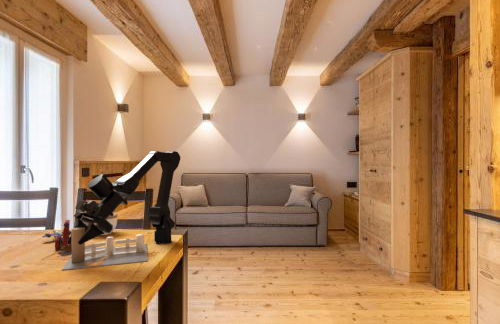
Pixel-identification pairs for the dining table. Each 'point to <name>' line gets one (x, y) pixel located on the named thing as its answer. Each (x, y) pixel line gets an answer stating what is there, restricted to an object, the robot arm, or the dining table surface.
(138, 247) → the fence fixed
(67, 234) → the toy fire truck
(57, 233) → the toy airplane
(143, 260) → the card
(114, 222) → the lidded bowl
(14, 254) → the dining table surface
